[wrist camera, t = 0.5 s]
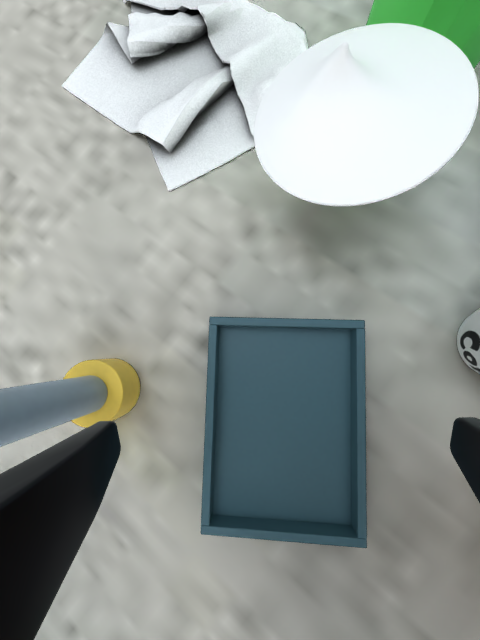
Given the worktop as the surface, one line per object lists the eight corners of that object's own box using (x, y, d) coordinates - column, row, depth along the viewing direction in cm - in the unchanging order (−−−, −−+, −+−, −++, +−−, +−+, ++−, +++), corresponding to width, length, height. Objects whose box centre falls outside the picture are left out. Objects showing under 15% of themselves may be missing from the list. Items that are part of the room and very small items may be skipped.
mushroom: (233, 228, 24) (206, 114, 13) (295, 119, 25) (324, -90, 13) (347, 286, 23) (436, 220, 11) (409, 170, 24) (557, -9, 12)
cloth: (343, 127, 25) (351, 103, 22) (101, 217, 25) (84, 203, 23) (262, -65, 27) (261, -105, 25) (43, 24, 28) (23, -7, 25)
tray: (357, 529, 22) (367, 548, 19) (206, 517, 22) (200, 534, 20) (355, 322, 23) (365, 320, 21) (214, 319, 24) (209, 316, 22)
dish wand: (149, 403, 24) (-14, 482, 10) (96, 427, 24) (-140, 539, 10) (127, 349, 24) (-55, 349, 10) (75, 372, 24) (-174, 405, 10)
